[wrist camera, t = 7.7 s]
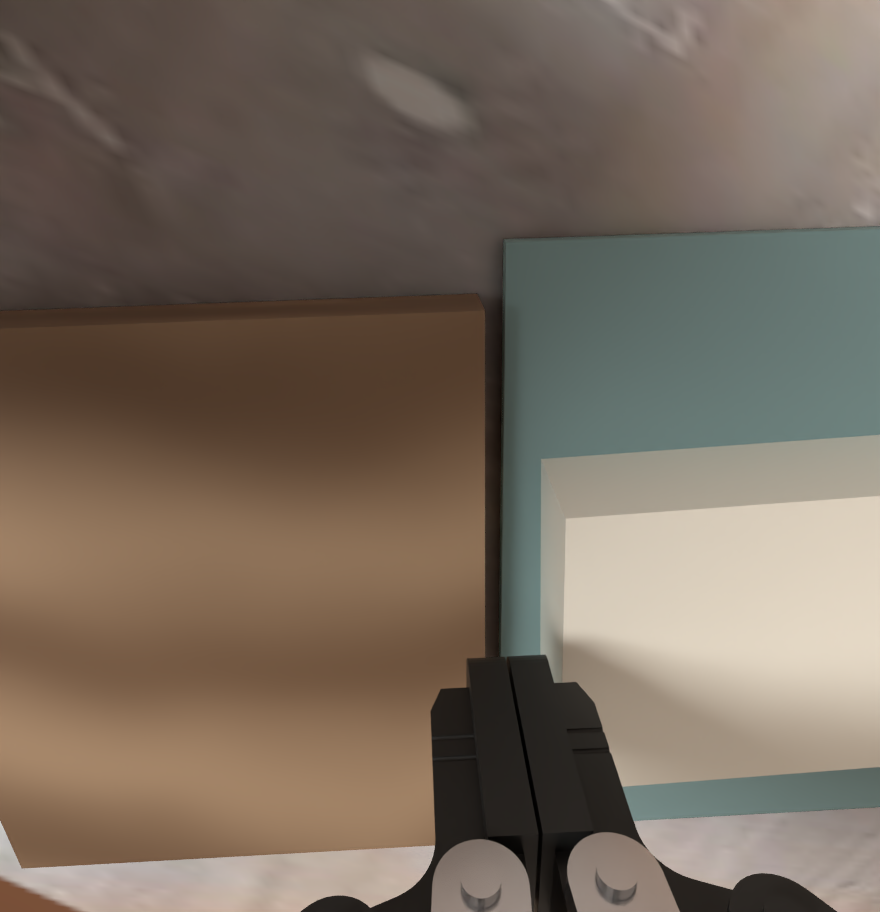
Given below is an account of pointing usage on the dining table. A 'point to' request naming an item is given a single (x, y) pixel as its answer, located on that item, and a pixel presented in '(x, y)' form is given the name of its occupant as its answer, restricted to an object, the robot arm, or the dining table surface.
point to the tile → (719, 605)
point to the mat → (681, 401)
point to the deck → (234, 572)
